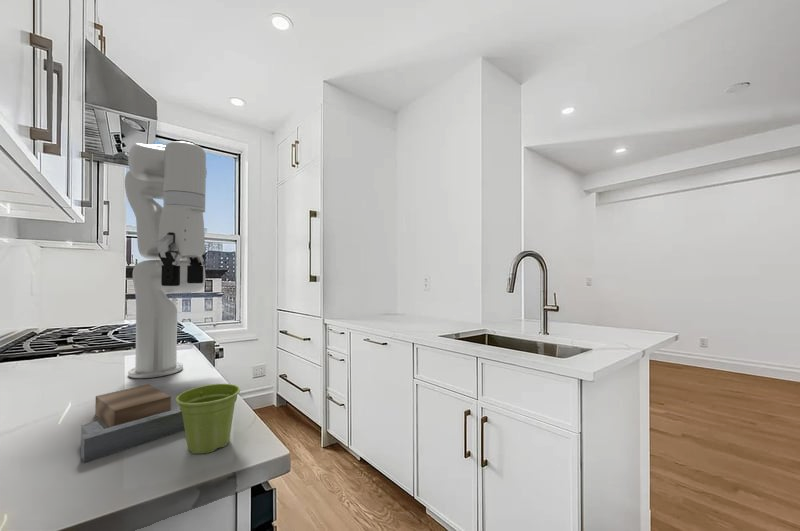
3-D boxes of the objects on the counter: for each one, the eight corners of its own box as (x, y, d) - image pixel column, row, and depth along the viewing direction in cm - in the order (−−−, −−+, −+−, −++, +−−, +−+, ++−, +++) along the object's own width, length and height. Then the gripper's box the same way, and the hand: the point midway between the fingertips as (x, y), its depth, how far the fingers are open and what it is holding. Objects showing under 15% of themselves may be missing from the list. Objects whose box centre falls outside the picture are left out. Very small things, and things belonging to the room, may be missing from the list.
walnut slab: (95, 416, 70) (95, 396, 70) (148, 402, 77) (148, 384, 77) (114, 433, 62) (114, 410, 63) (170, 416, 70) (170, 396, 70)
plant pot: (163, 463, 52) (164, 405, 52) (188, 434, 61) (189, 384, 61) (231, 457, 54) (231, 401, 54) (245, 429, 63) (246, 381, 63)
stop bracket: (73, 445, 57) (73, 424, 57) (202, 408, 73) (202, 391, 73) (84, 462, 52) (84, 439, 52) (220, 418, 68) (220, 400, 68)
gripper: (187, 209, 82) (186, 282, 82) (139, 194, 64) (137, 286, 64) (220, 210, 82) (219, 282, 82) (182, 196, 65) (180, 287, 65)
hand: (183, 284), depth 73 cm, fingers open, 9 cm apart
